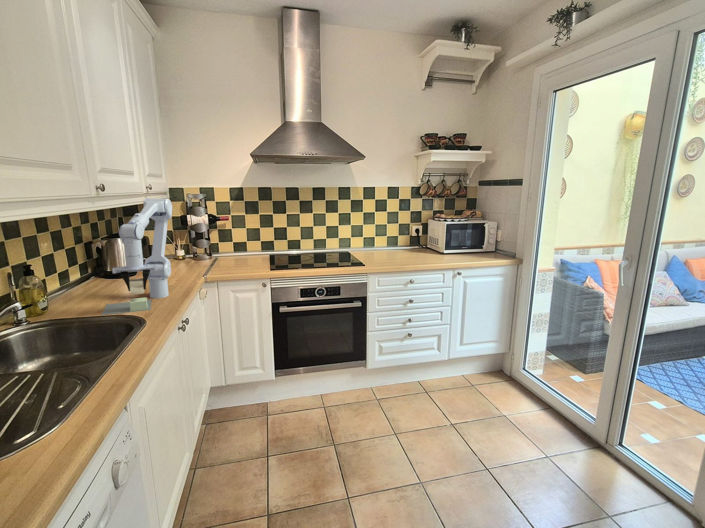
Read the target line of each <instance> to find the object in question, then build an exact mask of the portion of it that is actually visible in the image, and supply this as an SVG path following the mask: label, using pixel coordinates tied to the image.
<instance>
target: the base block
mask: <svg viewBox="0 0 705 528" xmlns="http://www.w3.org/2000/svg"><path fill="white" fill-rule="evenodd" d="M147 300H148V297H139V298H138V297H137V298H131V299H130V300H129V302H130V311H136V312H140V311H139V310H145V311H148V310H147V306H148V305H147Z"/></svg>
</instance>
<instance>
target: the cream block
mask: <svg viewBox="0 0 705 528" xmlns="http://www.w3.org/2000/svg"><path fill="white" fill-rule="evenodd" d="M129 279H130V278H129ZM129 284H130V291H129V293H130V295H140V294H145V290H144V287H143V277H142V278H132V279H130V281H129Z"/></svg>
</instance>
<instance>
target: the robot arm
mask: <svg viewBox="0 0 705 528" xmlns="http://www.w3.org/2000/svg"><path fill="white" fill-rule="evenodd" d="M172 214H173V203H172V201H171V199H169V198H148V197H147V198H145V199H144V200H143V208H142V209H141V210H140V213H139V212H138V213H137V212H136V213H135V214H134V215H133V216H132V217H131V219H129V221H128V222H127V223H123V224H122V225H120V227H119V229H118V230H119V232H118V235H119V237H120V240H121V243H122V245H123V249H124V259H125V266H117V267H112V274H118V273H119V275H120V277H121V278H122V280H123V281H124V282H125V285H126V287H127V290H128V292H130V284H129V281H130V273H132V272H133V273H135V272H142V278H143V287H144V291H145V290H146V289H147V282H148V287H149V288H148V289H149V298H150V299H163V298H167V297H169V295H170V293H169V285H168V284H169V282H168V278H169V277H170V276H171V275H172V267H171V260H169V259H168V257H166V256H165V254H166V252H165V251H166V244H167V236H168V235H167V234H168V223H169V220H171V219H172ZM150 219H151V220H154V231H153V240H152V249H151V255H150V256H149V257H148V258H146V259H145V261H144V255H143V247H142V246H143V244H142V239H143V238H144V235H145V234H144V233H145V229H146V228H147V226H148V225H149V224H150Z"/></svg>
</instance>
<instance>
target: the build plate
mask: <svg viewBox="0 0 705 528" xmlns="http://www.w3.org/2000/svg"><path fill="white" fill-rule="evenodd" d="M147 305H148V306H147V310H139V311H138V312H143V311H151V310H152V299H147ZM134 312H136V313H137V311H130V301H125V302H114V303H107V304H106V305H105V307H104V308H103V311H102V313H101V315H100V316H103V317H104V316H109V315H117V314H118V315H119V314H120V315H121V314H127V313H128V314H129V313H134Z"/></svg>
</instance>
